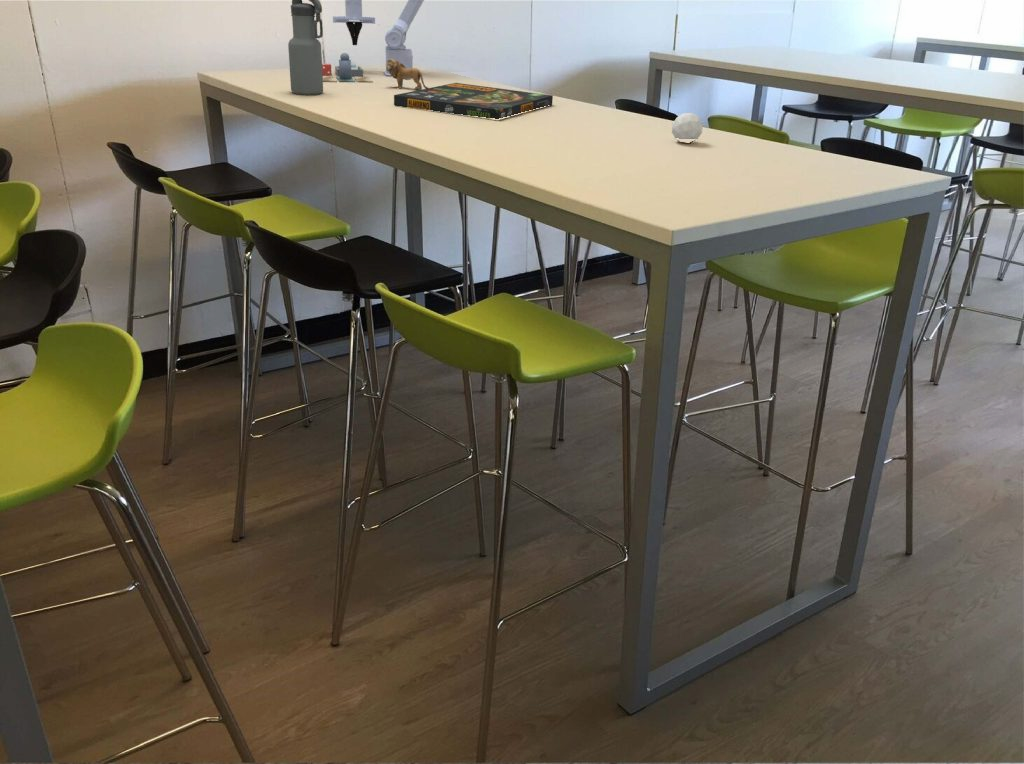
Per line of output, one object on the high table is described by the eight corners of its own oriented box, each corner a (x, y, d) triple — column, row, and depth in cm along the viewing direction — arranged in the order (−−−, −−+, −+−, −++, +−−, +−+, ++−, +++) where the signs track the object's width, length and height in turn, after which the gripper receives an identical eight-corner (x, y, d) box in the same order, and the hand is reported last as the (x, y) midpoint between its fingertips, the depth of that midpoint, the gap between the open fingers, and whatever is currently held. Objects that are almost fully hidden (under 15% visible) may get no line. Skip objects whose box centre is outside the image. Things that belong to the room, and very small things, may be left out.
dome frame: (360, 73, 317) (360, 66, 316) (363, 77, 310) (363, 69, 309) (335, 73, 315) (335, 66, 314) (337, 76, 308) (337, 69, 307)
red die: (330, 74, 313) (330, 63, 311) (331, 75, 310) (331, 64, 308) (320, 73, 312) (320, 63, 310) (321, 75, 309) (320, 64, 307)
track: (368, 78, 308) (368, 76, 308) (372, 82, 300) (372, 81, 300) (318, 77, 304) (318, 76, 304) (321, 81, 295) (321, 80, 295)
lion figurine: (383, 88, 290) (383, 59, 286) (389, 86, 295) (389, 57, 291) (426, 91, 287) (426, 62, 283) (431, 89, 292) (431, 60, 288)
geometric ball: (683, 155, 230) (675, 132, 224) (671, 138, 236) (664, 115, 230) (709, 141, 229) (703, 117, 223) (698, 124, 234) (691, 101, 228)
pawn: (350, 77, 304) (350, 52, 300) (352, 79, 300) (351, 53, 297) (339, 77, 303) (338, 52, 299) (340, 79, 299) (339, 53, 296)
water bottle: (328, 91, 278) (324, -6, 266) (319, 96, 269) (314, -4, 257) (296, 89, 279) (291, -8, 266) (286, 94, 270) (280, -6, 258)
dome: (357, 73, 316) (356, 62, 314) (359, 75, 311) (359, 64, 309) (339, 73, 314) (338, 61, 313) (340, 75, 309) (340, 64, 307)
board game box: (394, 107, 261) (393, 95, 260) (455, 94, 289) (455, 82, 288) (497, 122, 247) (498, 109, 246) (552, 107, 275) (552, 95, 274)
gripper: (333, 3, 303) (335, 45, 309) (375, 5, 307) (376, 46, 313) (331, 2, 309) (333, 43, 315) (373, 3, 313) (374, 44, 319)
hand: (354, 44), depth 315 cm, fingers closed
